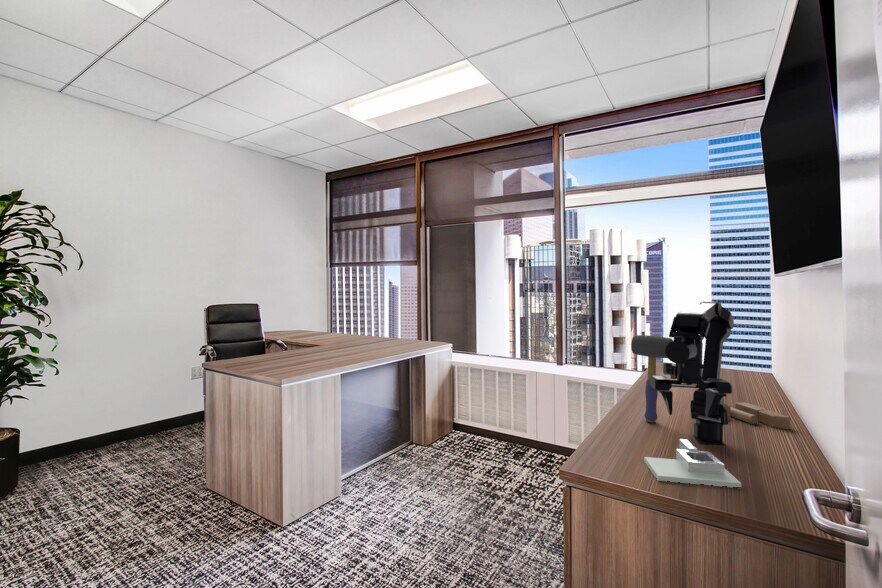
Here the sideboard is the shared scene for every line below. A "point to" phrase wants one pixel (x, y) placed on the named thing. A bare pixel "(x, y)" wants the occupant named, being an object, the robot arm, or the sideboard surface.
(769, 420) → the wooden block set
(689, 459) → the steel link
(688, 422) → the sideboard surface
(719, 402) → the robot arm
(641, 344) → the rubber mallet
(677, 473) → the keeper board
